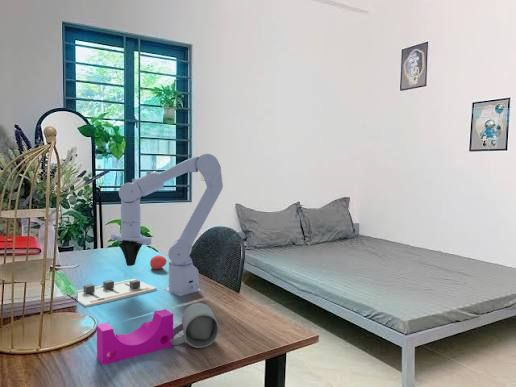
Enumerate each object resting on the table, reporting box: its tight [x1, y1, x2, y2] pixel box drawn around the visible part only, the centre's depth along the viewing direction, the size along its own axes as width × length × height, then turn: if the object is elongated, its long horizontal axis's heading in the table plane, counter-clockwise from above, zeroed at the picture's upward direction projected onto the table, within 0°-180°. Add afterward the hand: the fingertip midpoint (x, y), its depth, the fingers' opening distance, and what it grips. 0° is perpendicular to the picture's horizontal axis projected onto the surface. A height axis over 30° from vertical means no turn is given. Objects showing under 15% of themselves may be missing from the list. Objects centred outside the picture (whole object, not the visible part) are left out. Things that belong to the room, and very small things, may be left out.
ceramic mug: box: [170, 302, 220, 349], centre depth 87 cm, size 11×8×8 cm
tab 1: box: [82, 283, 96, 294], centre depth 116 cm, size 2×2×2 cm
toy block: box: [96, 308, 174, 366], centre depth 83 cm, size 15×6×8 cm, turn 129°
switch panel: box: [76, 278, 158, 308], centre depth 119 cm, size 14×22×2 cm, turn 136°
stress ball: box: [149, 255, 167, 270], centre depth 146 cm, size 5×9×6 cm, turn 27°
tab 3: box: [130, 279, 141, 289], centre depth 121 cm, size 2×2×2 cm
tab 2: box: [102, 279, 115, 289], centre depth 120 cm, size 2×2×2 cm
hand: (130, 265), depth 122 cm, fingers closed
